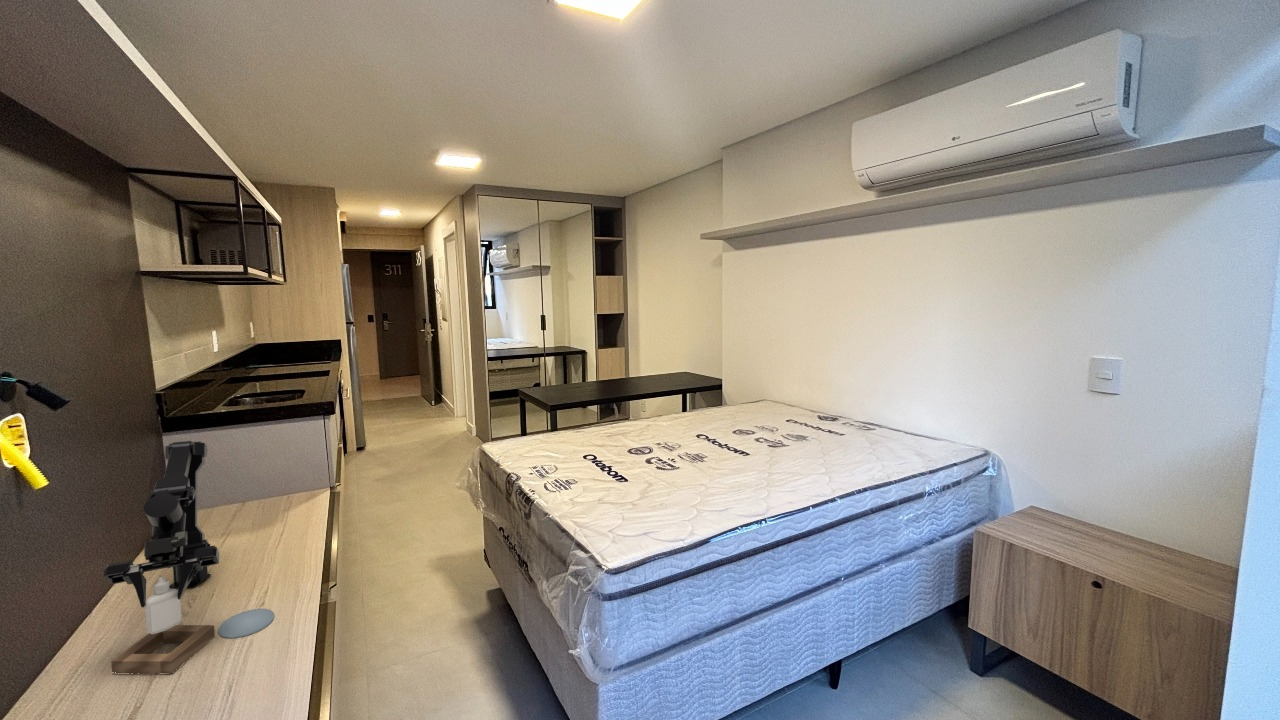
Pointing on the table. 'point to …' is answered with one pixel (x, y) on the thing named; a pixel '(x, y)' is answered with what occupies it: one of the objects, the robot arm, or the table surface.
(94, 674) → the table surface
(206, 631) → the walnut socket block
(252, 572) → the table surface
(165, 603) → the eye dropper bottle
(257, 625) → the slate-blue rubber mat
